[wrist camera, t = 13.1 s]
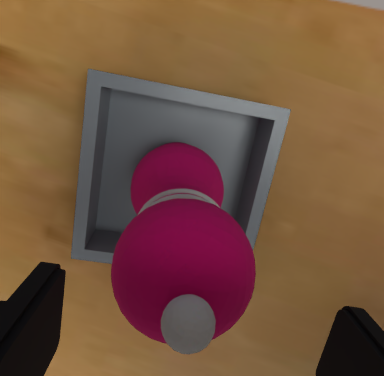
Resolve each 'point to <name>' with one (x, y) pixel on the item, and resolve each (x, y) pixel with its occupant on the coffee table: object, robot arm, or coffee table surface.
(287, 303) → the coffee table surface
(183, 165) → the pepper mill
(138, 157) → the bin
